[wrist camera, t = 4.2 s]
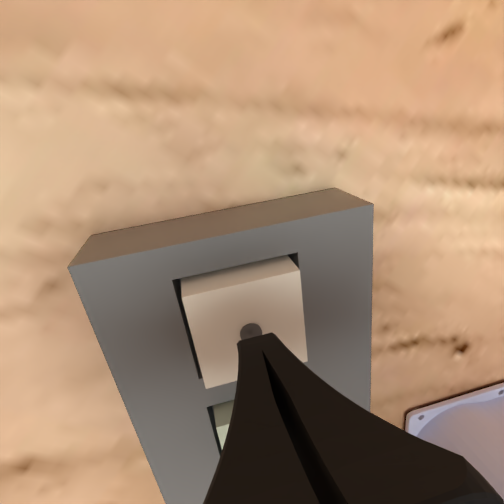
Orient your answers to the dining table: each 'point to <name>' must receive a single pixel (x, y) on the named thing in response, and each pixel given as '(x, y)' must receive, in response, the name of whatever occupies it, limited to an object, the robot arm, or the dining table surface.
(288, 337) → the tile one
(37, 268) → the dining table surface
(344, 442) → the robot arm
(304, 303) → the tile tray
